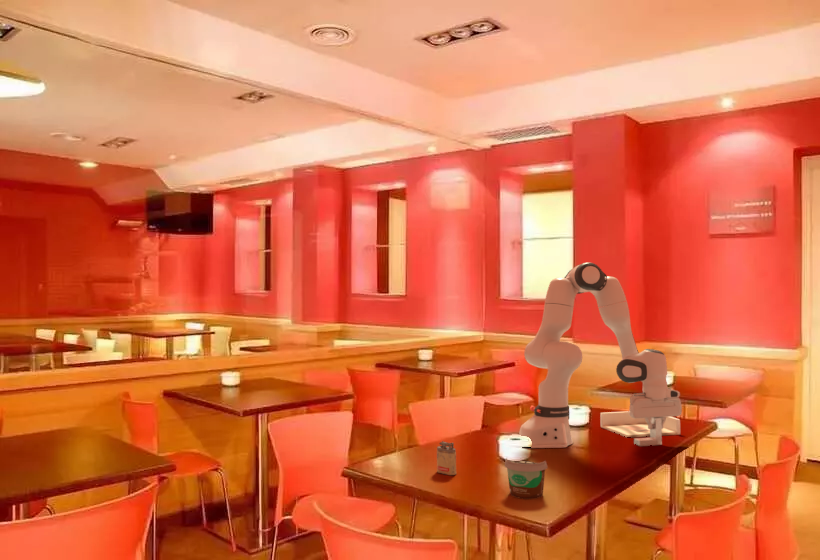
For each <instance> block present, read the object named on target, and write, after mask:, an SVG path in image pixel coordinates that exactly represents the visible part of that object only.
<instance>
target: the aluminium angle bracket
mask: <svg viewBox="0 0 820 560" xmlns="http://www.w3.org/2000/svg"><path fill="white" fill-rule="evenodd" d="M650 422H651V423H652V424H653V425H654V429H650V436H649V437H634V438H633V444H634V445H635V444H636V446H638V447H648V446H649V447H650V445H652V446H662V445H663V437H662V423H661V418H659V417H653V418H651V420H650Z"/></svg>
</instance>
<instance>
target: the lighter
mask: <svg viewBox="0 0 820 560" xmlns="http://www.w3.org/2000/svg"><path fill="white" fill-rule="evenodd" d="M438 444H439V445H440V446H437V447H436V473H438V474H442V475H446V476H447V475H448V476H455V475H457V452H456V448H454V442H446V441H444V440H441V442H439V443H438Z"/></svg>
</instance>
